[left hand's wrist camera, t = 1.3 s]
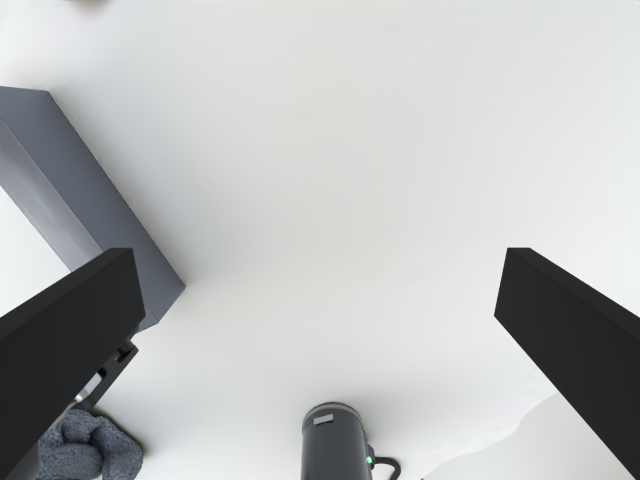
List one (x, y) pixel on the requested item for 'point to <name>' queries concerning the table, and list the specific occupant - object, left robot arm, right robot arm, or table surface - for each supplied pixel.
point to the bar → (74, 196)
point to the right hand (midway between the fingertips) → (94, 337)
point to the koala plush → (87, 450)
